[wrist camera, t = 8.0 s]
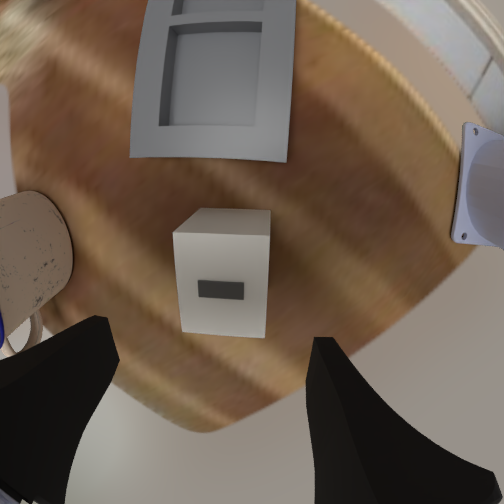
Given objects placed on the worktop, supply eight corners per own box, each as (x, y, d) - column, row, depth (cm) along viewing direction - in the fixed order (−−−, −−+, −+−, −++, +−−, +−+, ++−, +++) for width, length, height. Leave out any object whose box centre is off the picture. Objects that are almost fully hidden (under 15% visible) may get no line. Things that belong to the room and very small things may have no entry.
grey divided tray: (295, -44, 10) (297, -72, 7) (284, 160, 15) (287, 163, 12) (175, -40, 10) (160, -63, 7) (148, 155, 16) (122, 158, 13)
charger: (270, 209, 16) (269, 236, 11) (267, 289, 18) (264, 339, 13) (200, 207, 16) (172, 232, 11) (203, 285, 18) (181, 332, 13)
